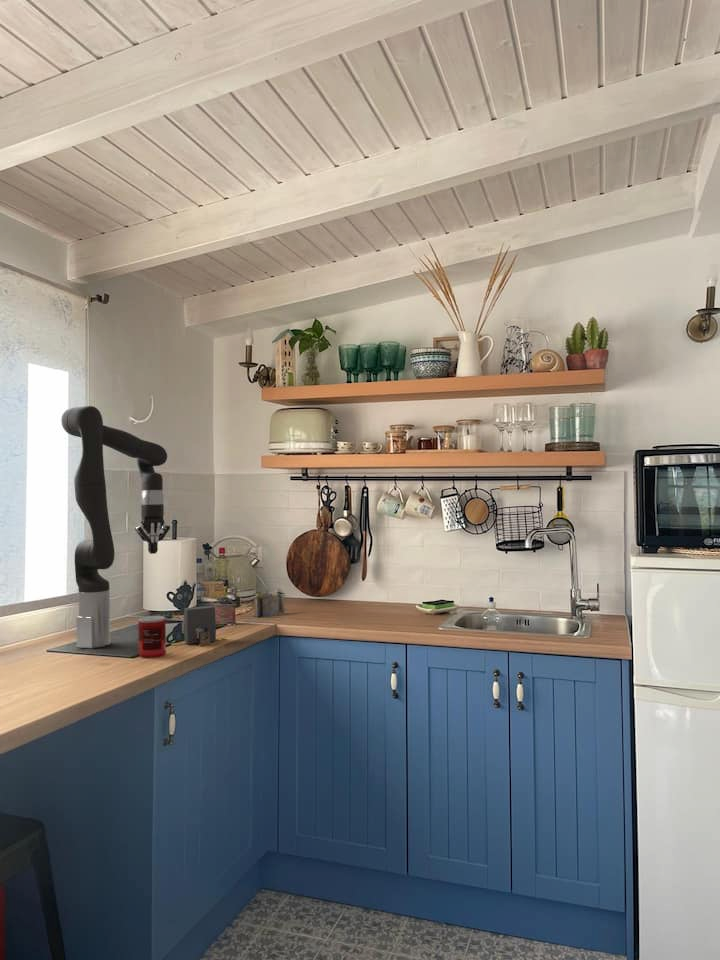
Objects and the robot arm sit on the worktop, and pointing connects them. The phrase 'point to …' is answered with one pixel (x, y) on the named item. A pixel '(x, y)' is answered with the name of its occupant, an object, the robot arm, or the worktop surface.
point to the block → (199, 622)
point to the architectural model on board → (269, 605)
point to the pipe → (203, 637)
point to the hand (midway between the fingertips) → (153, 553)
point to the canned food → (152, 636)
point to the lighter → (225, 611)
